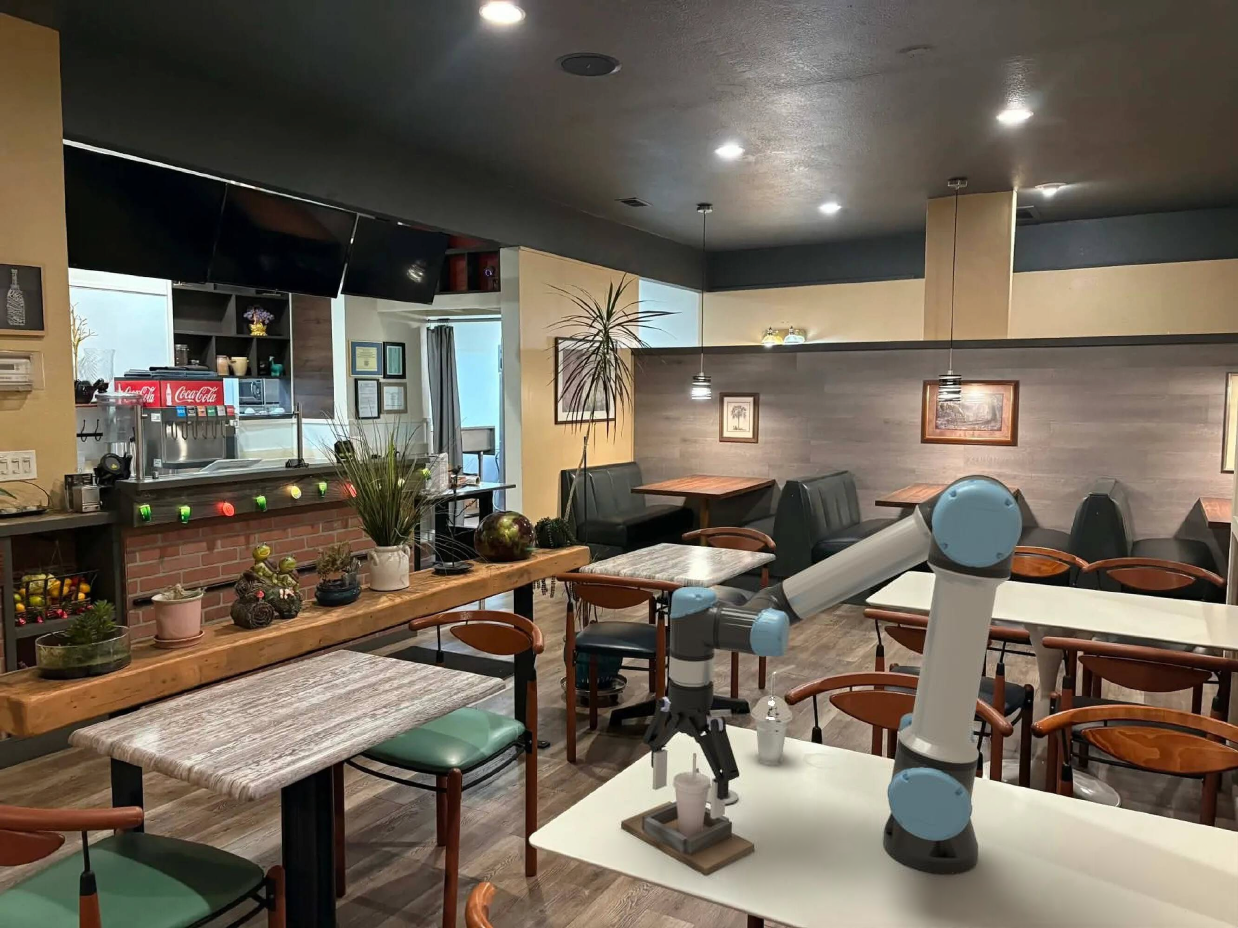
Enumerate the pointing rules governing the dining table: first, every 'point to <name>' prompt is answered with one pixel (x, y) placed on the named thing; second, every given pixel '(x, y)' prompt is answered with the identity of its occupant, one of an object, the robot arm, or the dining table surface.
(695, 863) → the keeper board
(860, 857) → the dining table surface
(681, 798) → the smoothie
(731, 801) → the grey arched plates
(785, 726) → the domed lid cup
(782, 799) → the dining table surface
